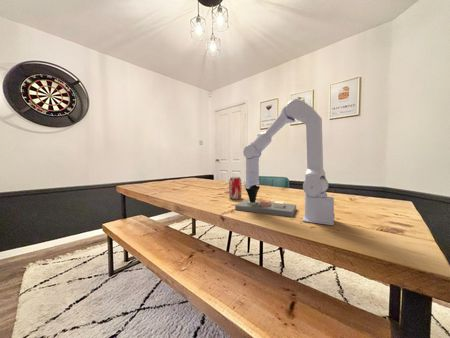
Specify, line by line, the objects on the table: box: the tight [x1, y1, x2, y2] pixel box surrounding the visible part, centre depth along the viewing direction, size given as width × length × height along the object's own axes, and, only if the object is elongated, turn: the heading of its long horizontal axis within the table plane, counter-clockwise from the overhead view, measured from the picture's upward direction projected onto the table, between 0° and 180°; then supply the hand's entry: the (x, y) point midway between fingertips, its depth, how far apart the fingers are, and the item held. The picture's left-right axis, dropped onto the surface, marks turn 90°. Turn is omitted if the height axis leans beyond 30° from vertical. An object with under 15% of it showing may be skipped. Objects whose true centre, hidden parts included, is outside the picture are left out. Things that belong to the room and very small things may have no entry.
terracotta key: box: [259, 199, 271, 207], centre depth 81 cm, size 4×4×2 cm
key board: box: [234, 199, 297, 218], centre depth 81 cm, size 24×12×2 cm, turn 62°
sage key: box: [247, 200, 259, 205], centre depth 84 cm, size 4×4×2 cm
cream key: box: [273, 200, 286, 208], centre depth 78 cm, size 4×4×2 cm
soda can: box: [228, 176, 243, 200], centre depth 105 cm, size 7×7×12 cm
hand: (252, 202), depth 84 cm, fingers closed, pressing on sage key
